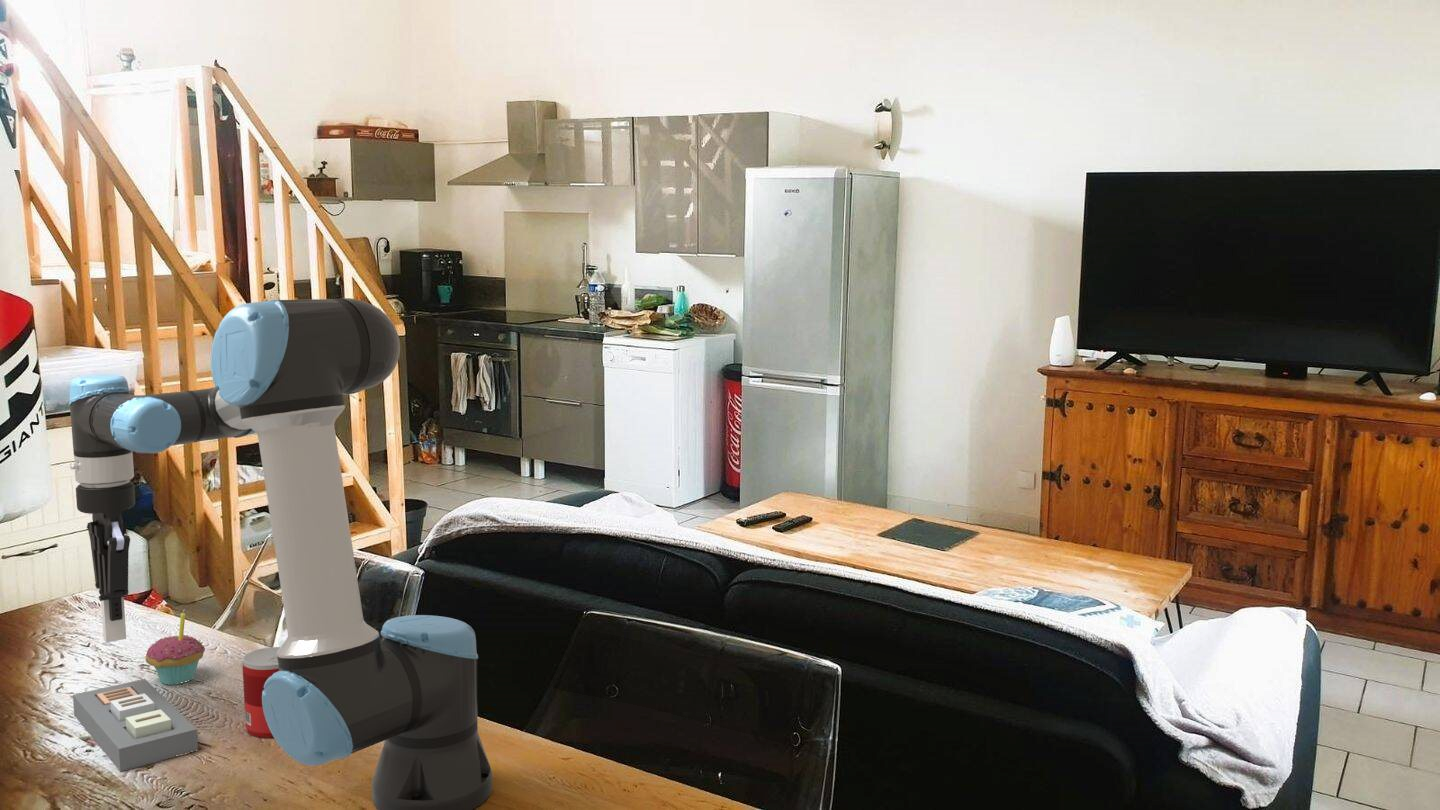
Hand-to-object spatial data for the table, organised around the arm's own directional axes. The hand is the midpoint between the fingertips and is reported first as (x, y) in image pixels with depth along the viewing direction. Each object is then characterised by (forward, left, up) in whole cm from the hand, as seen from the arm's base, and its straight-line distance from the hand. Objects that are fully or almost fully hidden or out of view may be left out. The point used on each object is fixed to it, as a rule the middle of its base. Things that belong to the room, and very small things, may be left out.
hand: (114, 639), depth 173 cm
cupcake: (+10, -11, -12) cm, 19 cm away
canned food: (-18, -16, -12) cm, 27 cm away
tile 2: (-7, 0, -10) cm, 12 cm away
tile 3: (0, 0, -11) cm, 11 cm away
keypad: (-7, 0, -12) cm, 14 cm away
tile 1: (-15, 0, -10) cm, 18 cm away
